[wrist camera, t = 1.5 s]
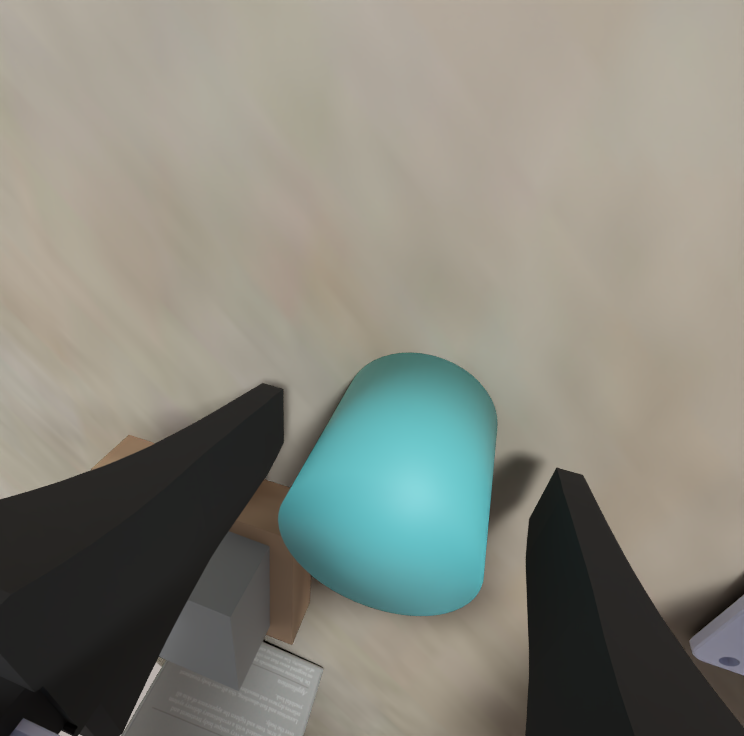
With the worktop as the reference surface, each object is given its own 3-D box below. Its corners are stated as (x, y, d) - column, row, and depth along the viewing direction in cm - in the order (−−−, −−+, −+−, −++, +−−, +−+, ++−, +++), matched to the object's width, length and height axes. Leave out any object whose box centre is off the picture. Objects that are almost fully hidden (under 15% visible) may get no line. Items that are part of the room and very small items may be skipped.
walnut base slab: (321, 484, 17) (293, 540, 15) (314, 591, 21) (292, 645, 19) (139, 425, 18) (91, 469, 16) (170, 538, 23) (135, 583, 21)
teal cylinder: (518, 377, 11) (513, 524, 7) (475, 489, 14) (455, 638, 10) (353, 334, 12) (276, 449, 8) (341, 448, 14) (279, 573, 11)
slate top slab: (269, 546, 15) (230, 617, 13) (269, 625, 19) (239, 691, 17) (121, 491, 16) (63, 549, 14) (148, 576, 20) (105, 633, 18)
